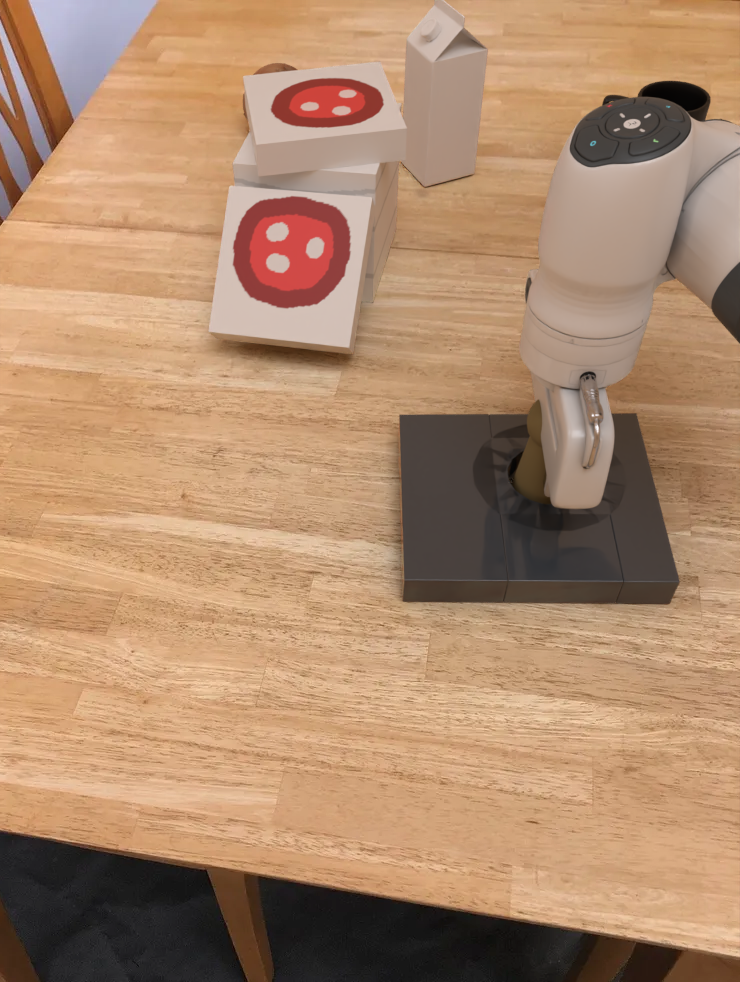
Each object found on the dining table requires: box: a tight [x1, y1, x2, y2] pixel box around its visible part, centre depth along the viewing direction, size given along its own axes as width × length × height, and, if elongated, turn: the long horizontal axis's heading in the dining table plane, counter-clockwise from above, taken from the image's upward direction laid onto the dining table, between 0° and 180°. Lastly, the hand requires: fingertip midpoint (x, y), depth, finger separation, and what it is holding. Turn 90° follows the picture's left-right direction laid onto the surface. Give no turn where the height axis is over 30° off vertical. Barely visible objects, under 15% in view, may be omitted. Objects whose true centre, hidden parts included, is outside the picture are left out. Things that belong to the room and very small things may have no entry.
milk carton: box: [400, 0, 489, 188], centre depth 112 cm, size 7×7×19 cm
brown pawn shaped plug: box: [510, 399, 552, 504], centre depth 80 cm, size 6×6×11 cm
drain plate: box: [397, 412, 681, 605], centre depth 82 cm, size 22×20×3 cm
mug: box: [601, 80, 712, 121], centre depth 113 cm, size 8×12×10 cm
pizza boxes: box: [207, 60, 407, 355], centre depth 98 cm, size 19×30×18 cm, turn 166°
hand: (549, 465), depth 81 cm, fingers closed on brown pawn shaped plug, 5 cm apart
